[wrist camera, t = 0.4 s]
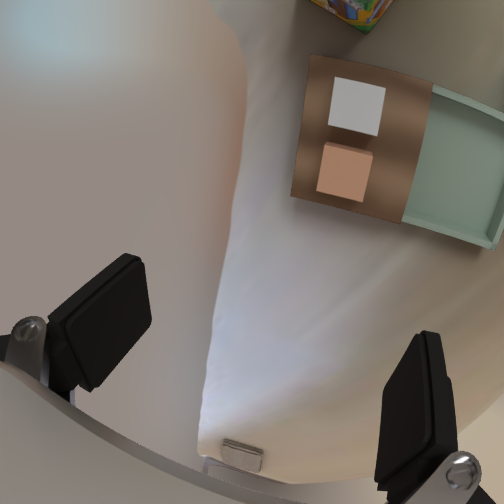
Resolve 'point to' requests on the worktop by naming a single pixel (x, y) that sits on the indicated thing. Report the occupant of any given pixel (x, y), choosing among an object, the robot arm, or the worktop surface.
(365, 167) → the terracotta block
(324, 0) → the chalk box
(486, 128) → the box
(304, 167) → the walnut board
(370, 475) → the worktop surface
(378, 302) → the worktop surface
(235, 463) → the washcloth
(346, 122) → the grey tile
